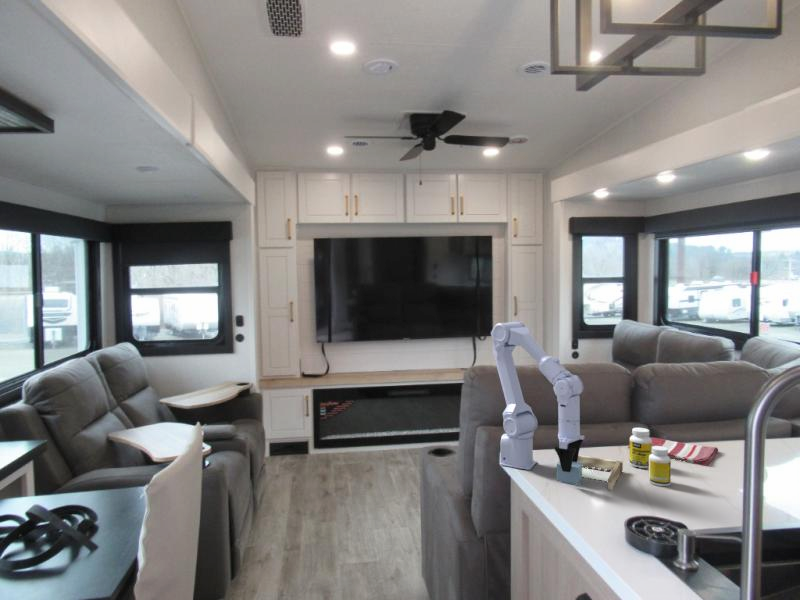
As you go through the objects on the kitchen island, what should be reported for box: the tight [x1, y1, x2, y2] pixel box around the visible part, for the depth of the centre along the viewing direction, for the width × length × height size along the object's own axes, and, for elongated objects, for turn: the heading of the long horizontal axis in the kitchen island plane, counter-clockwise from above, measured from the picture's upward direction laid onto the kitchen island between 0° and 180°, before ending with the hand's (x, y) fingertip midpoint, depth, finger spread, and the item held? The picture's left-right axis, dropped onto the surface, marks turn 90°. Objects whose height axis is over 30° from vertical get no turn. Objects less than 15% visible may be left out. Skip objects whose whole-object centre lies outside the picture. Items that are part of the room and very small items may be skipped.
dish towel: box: [627, 436, 719, 467], centre depth 166 cm, size 17×23×3 cm
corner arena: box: [577, 454, 624, 492], centre depth 146 cm, size 15×16×3 cm
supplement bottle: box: [648, 446, 672, 487], centre depth 141 cm, size 5×5×10 cm
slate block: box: [556, 460, 583, 486], centre depth 144 cm, size 6×4×5 cm, turn 59°
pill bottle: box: [629, 427, 652, 469], centre depth 154 cm, size 6×6×11 cm
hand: (569, 467), depth 143 cm, fingers open, 7 cm apart
